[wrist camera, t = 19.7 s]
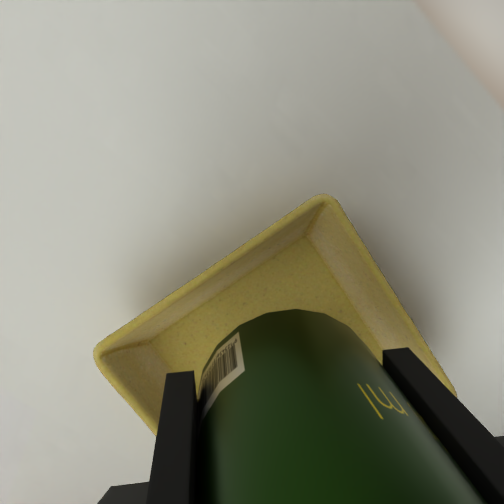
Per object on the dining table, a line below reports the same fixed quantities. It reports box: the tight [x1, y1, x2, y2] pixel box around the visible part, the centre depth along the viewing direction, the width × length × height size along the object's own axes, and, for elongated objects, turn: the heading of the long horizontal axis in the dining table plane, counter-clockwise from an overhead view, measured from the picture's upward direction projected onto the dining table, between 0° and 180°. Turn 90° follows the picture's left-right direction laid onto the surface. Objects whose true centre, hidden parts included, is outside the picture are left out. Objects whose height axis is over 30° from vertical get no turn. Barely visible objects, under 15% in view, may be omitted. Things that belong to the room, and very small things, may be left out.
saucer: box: [93, 194, 457, 436], centre depth 16 cm, size 9×9×2 cm
